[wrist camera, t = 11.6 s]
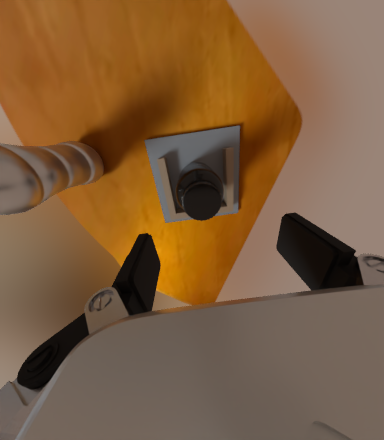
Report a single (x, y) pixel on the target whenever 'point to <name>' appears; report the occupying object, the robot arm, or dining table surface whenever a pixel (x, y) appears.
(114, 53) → the dining table surface
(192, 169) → the supplement bottle
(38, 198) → the plastic bottle
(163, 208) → the bottle stand
